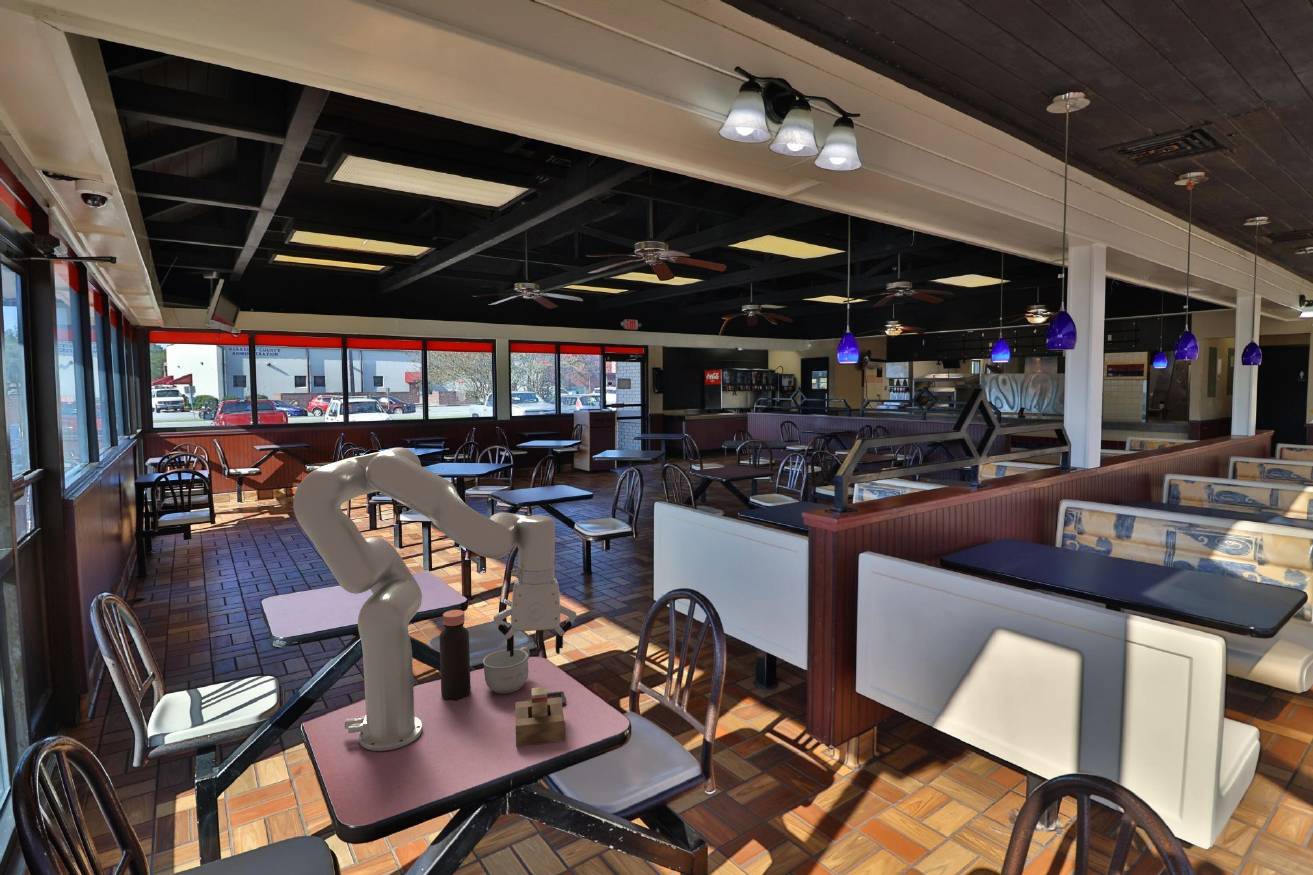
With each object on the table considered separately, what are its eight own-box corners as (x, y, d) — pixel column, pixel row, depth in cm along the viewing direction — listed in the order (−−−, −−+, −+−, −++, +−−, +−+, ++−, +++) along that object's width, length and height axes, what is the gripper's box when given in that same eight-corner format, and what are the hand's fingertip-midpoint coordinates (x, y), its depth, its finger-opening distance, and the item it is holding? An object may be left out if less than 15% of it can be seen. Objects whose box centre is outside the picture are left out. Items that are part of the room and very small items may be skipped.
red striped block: (532, 735, 141) (531, 695, 140) (532, 727, 144) (531, 688, 143) (547, 733, 141) (547, 693, 140) (547, 725, 144) (546, 686, 143)
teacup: (503, 703, 154) (502, 670, 153) (474, 689, 161) (473, 658, 160) (547, 681, 165) (546, 650, 164) (518, 669, 172) (517, 639, 171)
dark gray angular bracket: (529, 709, 151) (529, 706, 151) (528, 697, 157) (528, 694, 157) (565, 705, 153) (565, 702, 153) (563, 693, 159) (563, 690, 159)
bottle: (454, 703, 154) (452, 620, 152) (435, 695, 158) (432, 614, 156) (476, 691, 160) (474, 611, 158) (457, 684, 163) (455, 606, 161)
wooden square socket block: (516, 746, 136) (515, 725, 136) (515, 721, 146) (515, 702, 146) (564, 740, 139) (564, 720, 138) (561, 716, 148) (561, 697, 148)
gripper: (493, 581, 133) (492, 662, 135) (579, 578, 137) (577, 657, 139) (494, 570, 141) (493, 647, 142) (575, 568, 144) (573, 643, 146)
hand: (534, 652), depth 141 cm, fingers open, 9 cm apart
